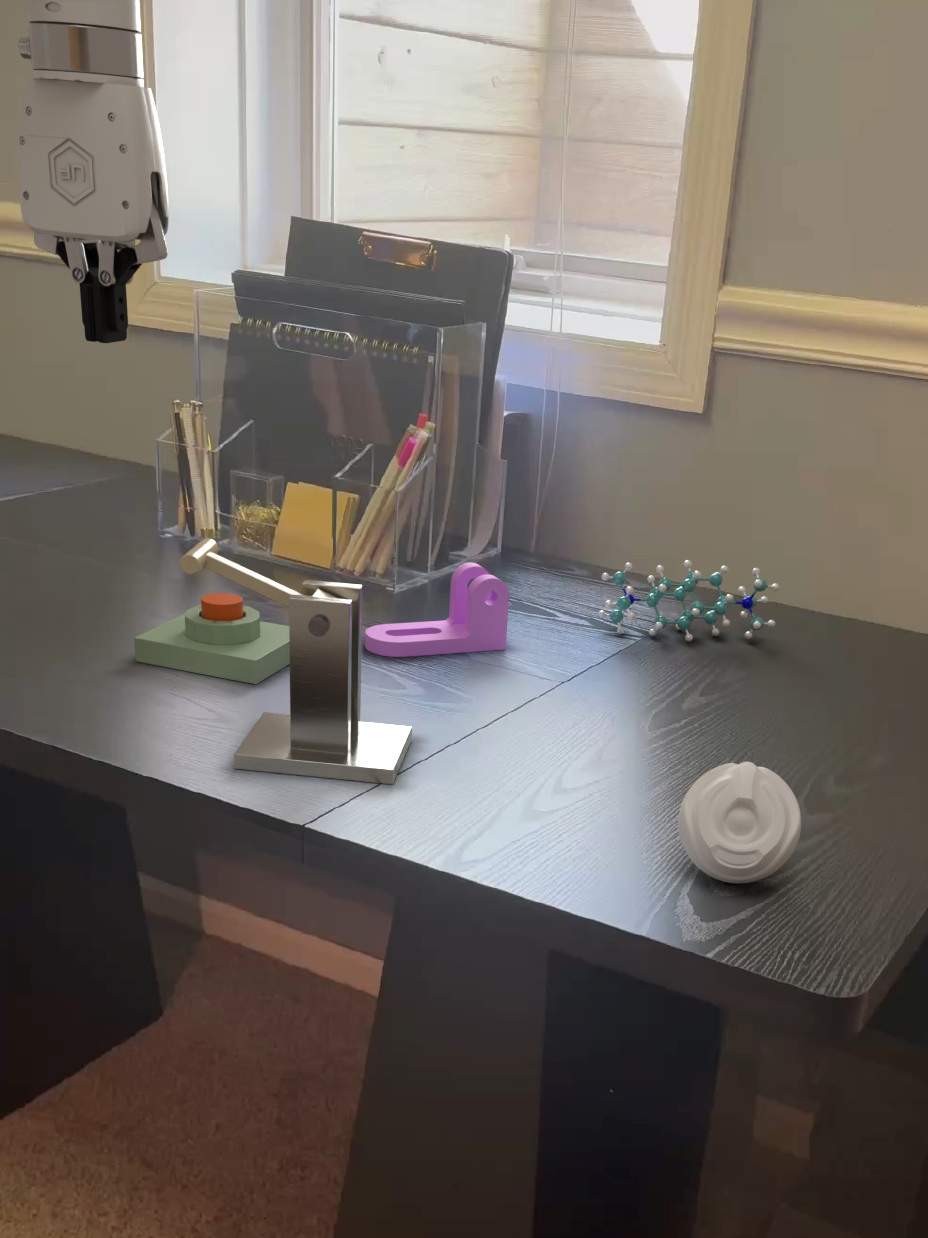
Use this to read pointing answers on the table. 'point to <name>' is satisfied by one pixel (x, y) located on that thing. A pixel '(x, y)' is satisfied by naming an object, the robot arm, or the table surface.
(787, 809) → the motion sensor
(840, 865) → the table surface
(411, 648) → the bracket
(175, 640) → the button box
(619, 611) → the molecule model
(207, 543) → the lever
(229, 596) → the button
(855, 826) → the table surface
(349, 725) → the bracket
